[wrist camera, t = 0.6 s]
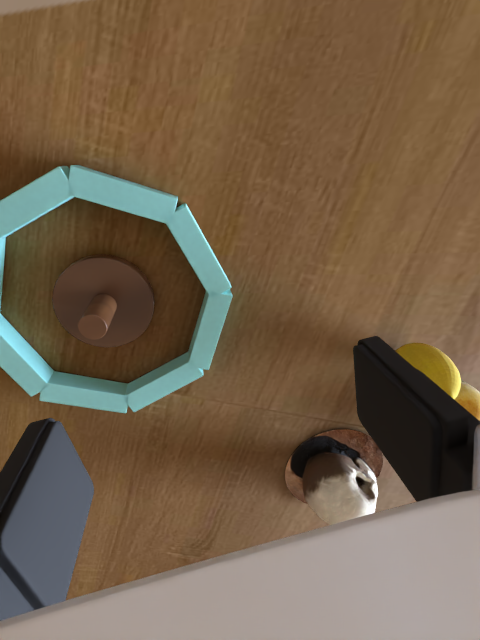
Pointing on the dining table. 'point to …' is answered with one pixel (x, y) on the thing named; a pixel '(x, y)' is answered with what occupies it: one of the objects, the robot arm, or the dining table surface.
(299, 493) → the iced cupcake on saucer
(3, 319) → the ring
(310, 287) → the dining table surface
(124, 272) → the post
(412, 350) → the lemon
